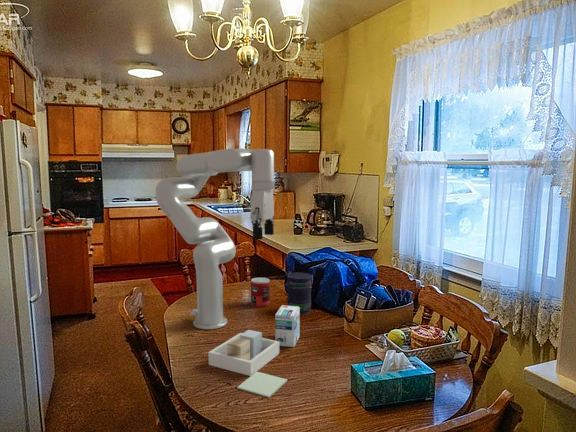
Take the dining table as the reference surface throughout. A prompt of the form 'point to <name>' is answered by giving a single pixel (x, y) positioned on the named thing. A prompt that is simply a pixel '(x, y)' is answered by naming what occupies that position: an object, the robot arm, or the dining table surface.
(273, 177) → the robot arm
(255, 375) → the mat
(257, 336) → the plain block
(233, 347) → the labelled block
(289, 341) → the light bulb box
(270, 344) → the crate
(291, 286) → the storage jar
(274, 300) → the dining table surface
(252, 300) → the canned food
